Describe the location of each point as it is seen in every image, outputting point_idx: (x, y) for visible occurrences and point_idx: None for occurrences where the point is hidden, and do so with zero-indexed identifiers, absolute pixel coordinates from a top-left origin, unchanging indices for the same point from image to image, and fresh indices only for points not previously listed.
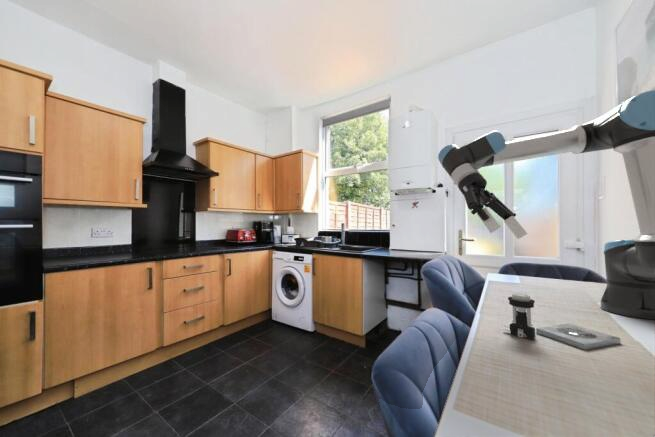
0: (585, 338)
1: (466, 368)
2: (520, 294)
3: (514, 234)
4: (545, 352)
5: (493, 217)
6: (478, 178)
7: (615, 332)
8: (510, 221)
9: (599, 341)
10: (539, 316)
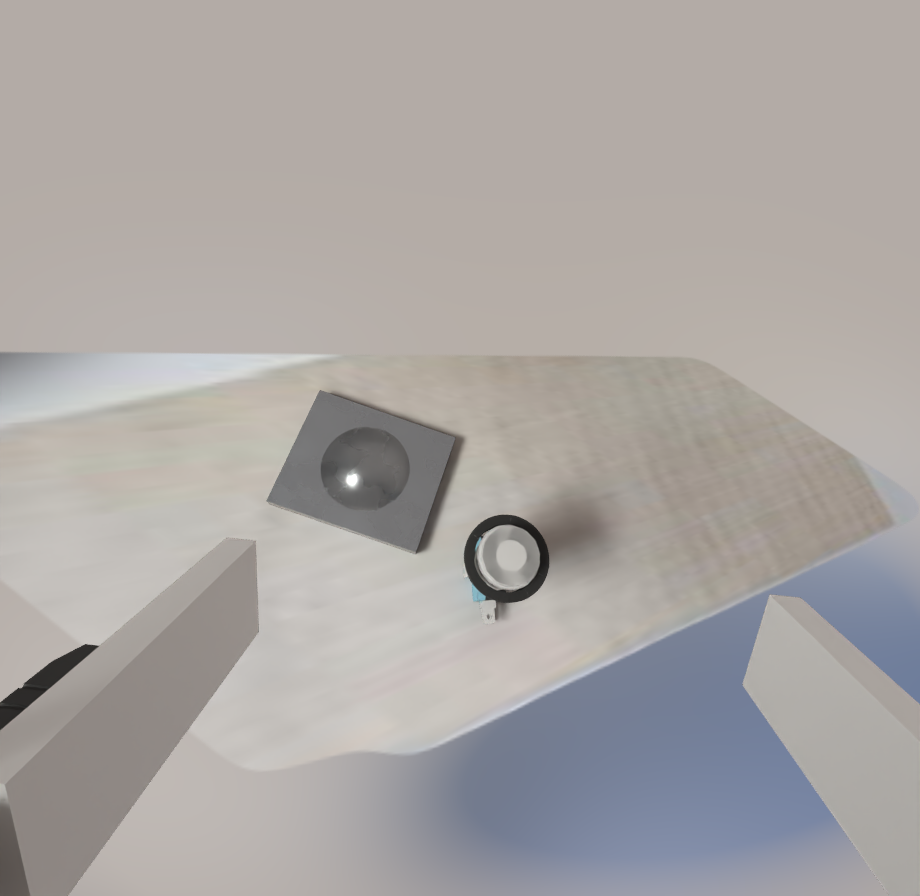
0: (402, 444)
1: (783, 573)
2: (497, 561)
3: (232, 667)
4: (551, 497)
5: (878, 688)
6: None
7: (207, 411)
8: (99, 772)
9: (399, 419)
10: None
